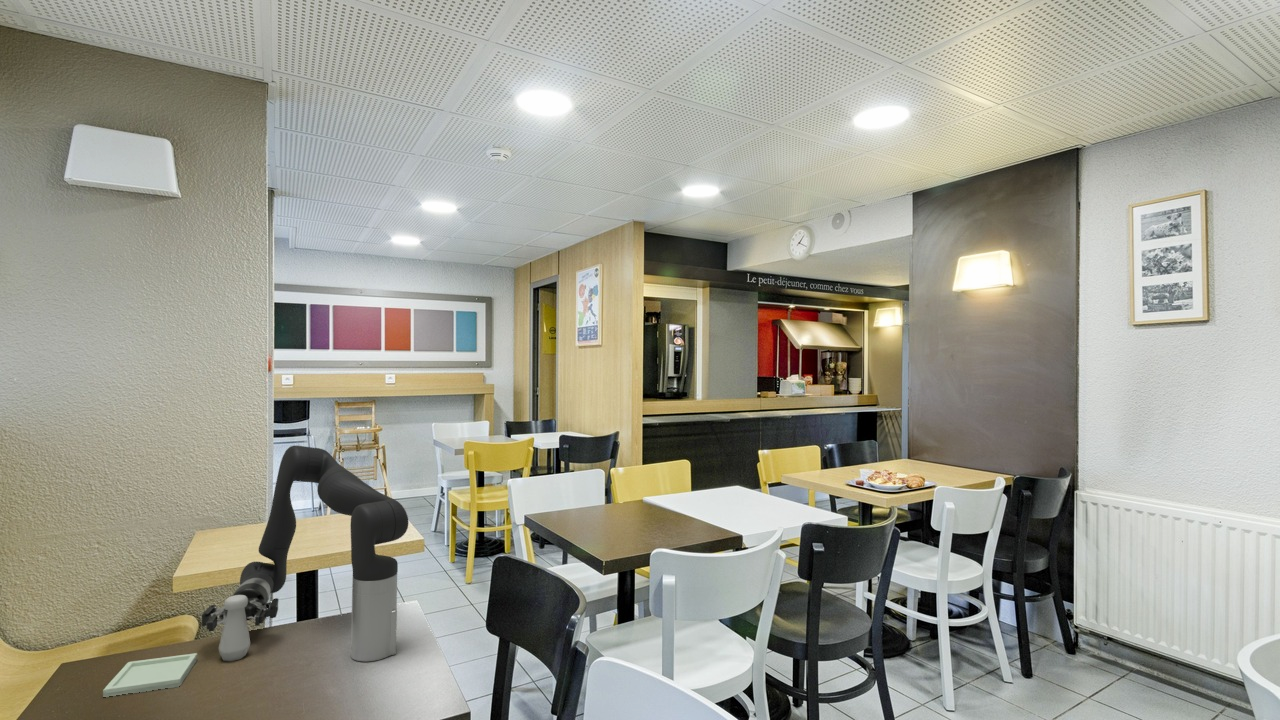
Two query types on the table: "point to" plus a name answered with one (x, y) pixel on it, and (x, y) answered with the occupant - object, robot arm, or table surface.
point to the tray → (151, 675)
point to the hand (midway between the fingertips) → (234, 624)
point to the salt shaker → (235, 629)
